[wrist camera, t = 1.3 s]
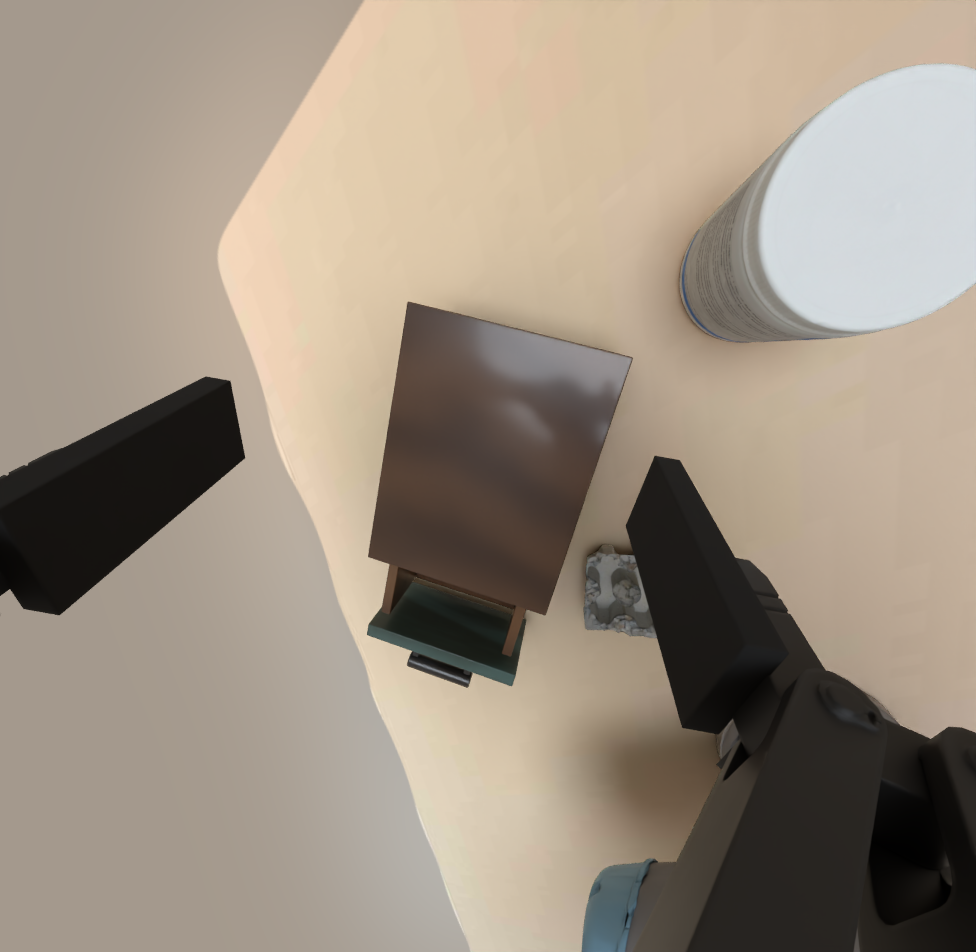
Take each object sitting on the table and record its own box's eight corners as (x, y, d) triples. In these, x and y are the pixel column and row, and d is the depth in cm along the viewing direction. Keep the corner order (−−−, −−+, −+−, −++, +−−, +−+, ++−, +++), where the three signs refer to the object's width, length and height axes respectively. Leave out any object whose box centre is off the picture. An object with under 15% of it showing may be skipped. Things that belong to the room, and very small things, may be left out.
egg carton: (713, 550, 37) (729, 574, 33) (697, 624, 39) (710, 654, 35) (587, 536, 39) (588, 557, 35) (579, 607, 41) (579, 634, 37)
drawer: (512, 662, 43) (499, 724, 36) (394, 621, 45) (360, 673, 38) (576, 464, 36) (575, 494, 29) (432, 423, 37) (398, 442, 30)
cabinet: (553, 555, 40) (545, 615, 31) (412, 511, 42) (367, 557, 33) (619, 353, 34) (633, 357, 25) (450, 311, 35) (407, 301, 26)
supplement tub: (746, 368, 32) (871, 387, 18) (647, 290, 32) (699, 250, 18) (860, 249, 29) (1120, 163, 15) (751, 161, 28) (911, -10, 15)
